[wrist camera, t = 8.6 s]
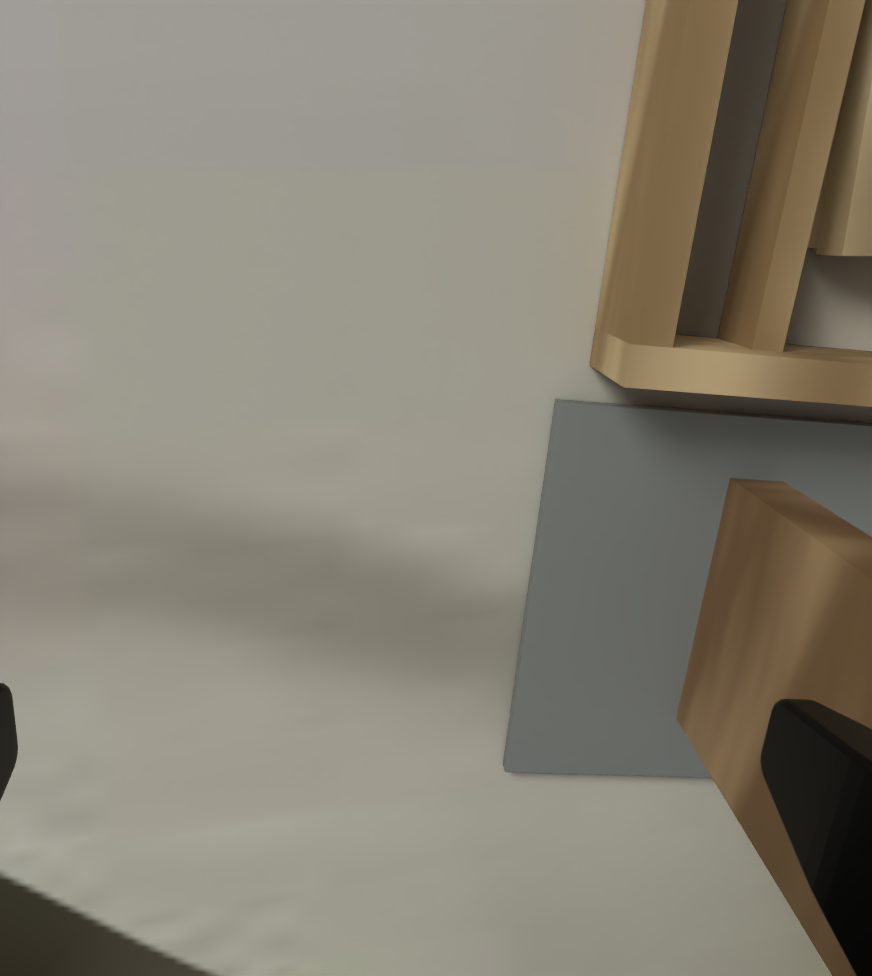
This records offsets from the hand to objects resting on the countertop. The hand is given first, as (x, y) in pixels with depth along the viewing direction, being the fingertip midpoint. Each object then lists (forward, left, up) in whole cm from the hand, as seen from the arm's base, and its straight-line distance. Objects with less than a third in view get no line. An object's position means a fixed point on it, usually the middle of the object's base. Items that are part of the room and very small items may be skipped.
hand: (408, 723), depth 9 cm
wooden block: (-10, +4, -12) cm, 17 cm away
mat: (-10, +4, -13) cm, 17 cm away
